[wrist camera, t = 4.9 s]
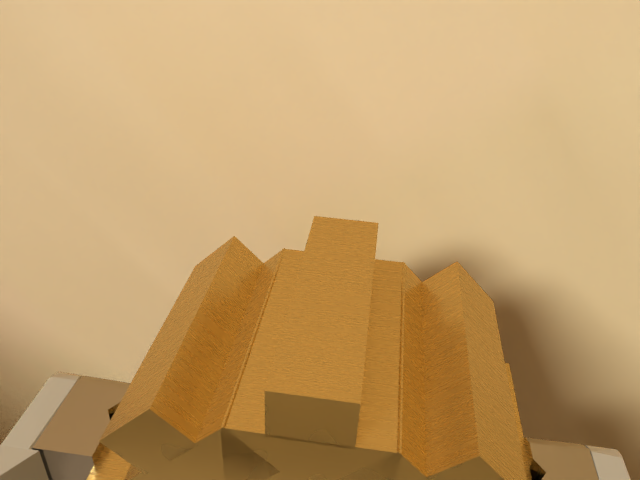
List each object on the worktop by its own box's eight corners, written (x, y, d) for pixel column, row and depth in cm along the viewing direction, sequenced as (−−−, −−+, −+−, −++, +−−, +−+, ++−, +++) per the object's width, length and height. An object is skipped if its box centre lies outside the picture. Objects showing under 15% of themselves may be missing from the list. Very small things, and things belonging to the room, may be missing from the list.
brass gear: (546, 241, 10) (619, 439, 6) (470, 486, 13) (490, 695, 10) (157, 199, 10) (31, 359, 7) (186, 445, 14) (114, 628, 10)
